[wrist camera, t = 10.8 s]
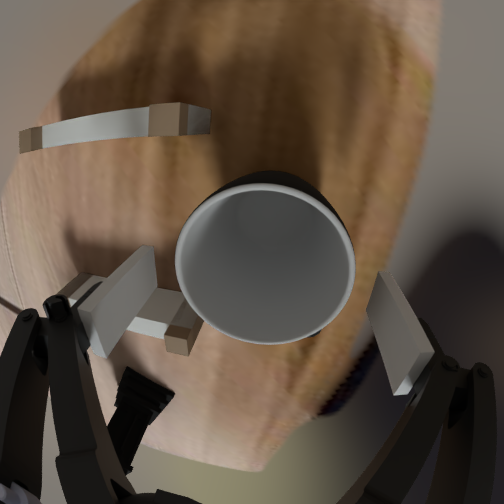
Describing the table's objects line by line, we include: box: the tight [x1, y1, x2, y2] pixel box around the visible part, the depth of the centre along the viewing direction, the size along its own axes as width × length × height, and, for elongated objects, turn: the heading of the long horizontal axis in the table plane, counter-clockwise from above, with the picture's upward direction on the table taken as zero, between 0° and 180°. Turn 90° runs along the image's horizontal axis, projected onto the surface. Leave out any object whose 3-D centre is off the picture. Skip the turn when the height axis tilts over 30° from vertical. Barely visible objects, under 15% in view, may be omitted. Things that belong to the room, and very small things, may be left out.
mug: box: [175, 171, 356, 345], centre depth 18 cm, size 12×9×10 cm
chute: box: [19, 102, 211, 356], centre depth 21 cm, size 16×19×6 cm
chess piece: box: [107, 366, 175, 476], centre depth 27 cm, size 8×8×20 cm
